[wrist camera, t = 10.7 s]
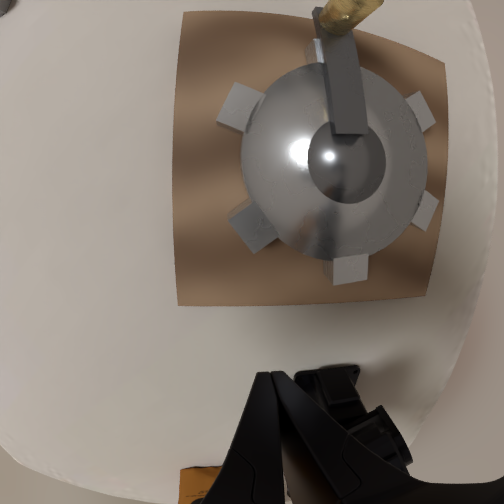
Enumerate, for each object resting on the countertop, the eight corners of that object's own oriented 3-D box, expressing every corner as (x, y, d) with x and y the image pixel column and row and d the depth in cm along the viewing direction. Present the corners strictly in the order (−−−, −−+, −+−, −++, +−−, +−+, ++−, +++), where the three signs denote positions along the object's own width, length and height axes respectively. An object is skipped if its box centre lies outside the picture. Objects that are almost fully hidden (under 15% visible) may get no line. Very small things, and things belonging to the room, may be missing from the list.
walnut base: (416, 288, 22) (425, 296, 21) (180, 295, 20) (177, 306, 19) (433, 66, 16) (445, 63, 14) (186, 21, 14) (183, 11, 12)
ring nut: (404, 41, 14) (462, 14, 8) (418, 256, 19) (476, 293, 13) (207, 28, 13) (200, -32, 7) (236, 285, 19) (243, 349, 12)
